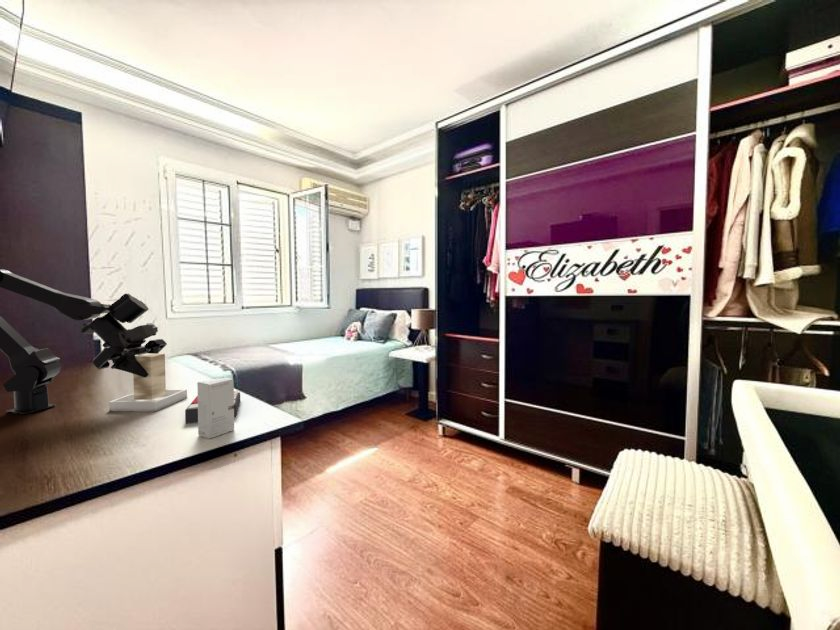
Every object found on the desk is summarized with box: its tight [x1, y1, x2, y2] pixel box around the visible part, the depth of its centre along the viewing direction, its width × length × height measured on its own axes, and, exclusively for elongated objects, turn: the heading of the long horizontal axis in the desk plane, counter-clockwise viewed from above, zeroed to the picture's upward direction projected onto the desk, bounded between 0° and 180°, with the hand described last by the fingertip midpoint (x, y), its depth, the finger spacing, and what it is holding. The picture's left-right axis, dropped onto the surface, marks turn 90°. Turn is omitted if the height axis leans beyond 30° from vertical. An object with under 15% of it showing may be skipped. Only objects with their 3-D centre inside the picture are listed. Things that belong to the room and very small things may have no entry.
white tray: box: [108, 388, 188, 413], centre depth 96 cm, size 12×12×2 cm
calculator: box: [184, 390, 241, 425], centre depth 91 cm, size 11×4×15 cm
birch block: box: [132, 353, 167, 400], centre depth 95 cm, size 5×5×12 cm
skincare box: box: [196, 376, 235, 440], centre depth 77 cm, size 6×4×12 cm
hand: (154, 373), depth 95 cm, fingers closed on birch block, 5 cm apart
